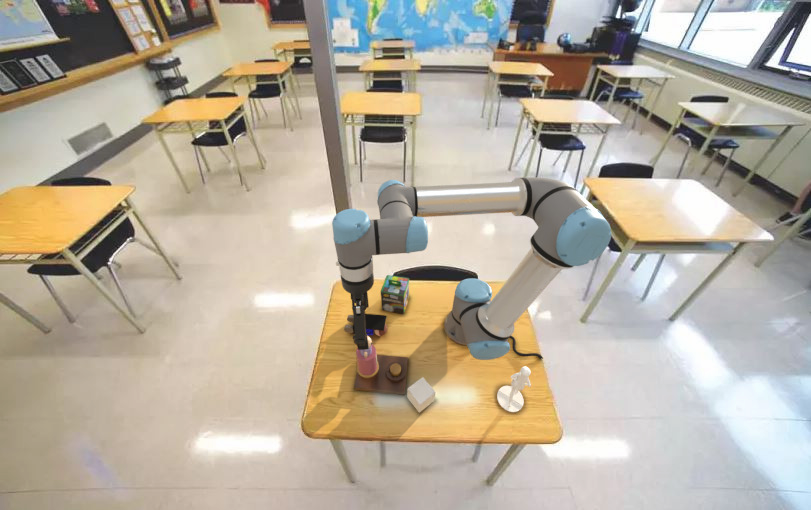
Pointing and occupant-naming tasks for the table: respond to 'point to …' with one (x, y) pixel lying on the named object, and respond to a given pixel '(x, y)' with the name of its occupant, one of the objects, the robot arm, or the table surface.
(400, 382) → the brown wooden base
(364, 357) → the doll
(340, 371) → the table surface
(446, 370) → the table surface
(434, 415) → the table surface
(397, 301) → the chalk box
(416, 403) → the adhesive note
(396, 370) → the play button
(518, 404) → the figurine
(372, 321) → the figurine character
